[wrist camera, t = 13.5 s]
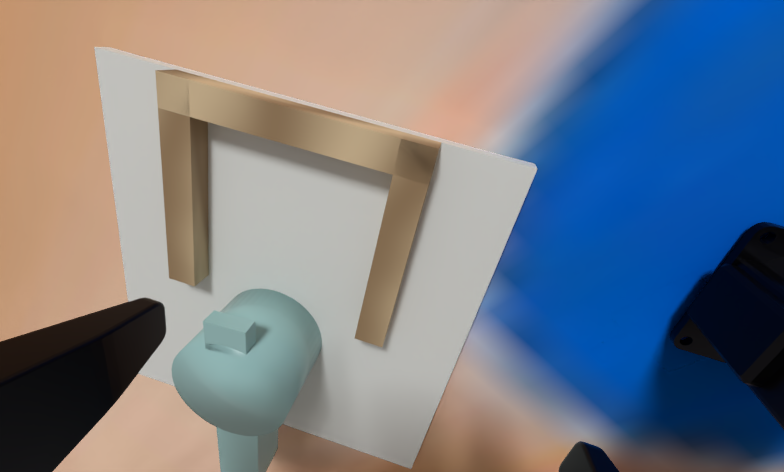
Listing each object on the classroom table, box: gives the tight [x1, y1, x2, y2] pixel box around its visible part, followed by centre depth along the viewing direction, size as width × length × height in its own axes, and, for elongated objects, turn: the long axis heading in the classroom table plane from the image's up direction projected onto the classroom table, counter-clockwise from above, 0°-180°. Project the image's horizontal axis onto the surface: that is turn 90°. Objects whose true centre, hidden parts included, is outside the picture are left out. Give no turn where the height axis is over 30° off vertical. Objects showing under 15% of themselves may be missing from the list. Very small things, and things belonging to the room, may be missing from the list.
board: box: [94, 47, 537, 469], centre depth 21 cm, size 20×21×1 cm
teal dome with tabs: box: [172, 289, 322, 472], centre depth 21 cm, size 12×6×4 cm, turn 171°
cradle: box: [155, 69, 441, 347], centre depth 18 cm, size 12×10×1 cm
